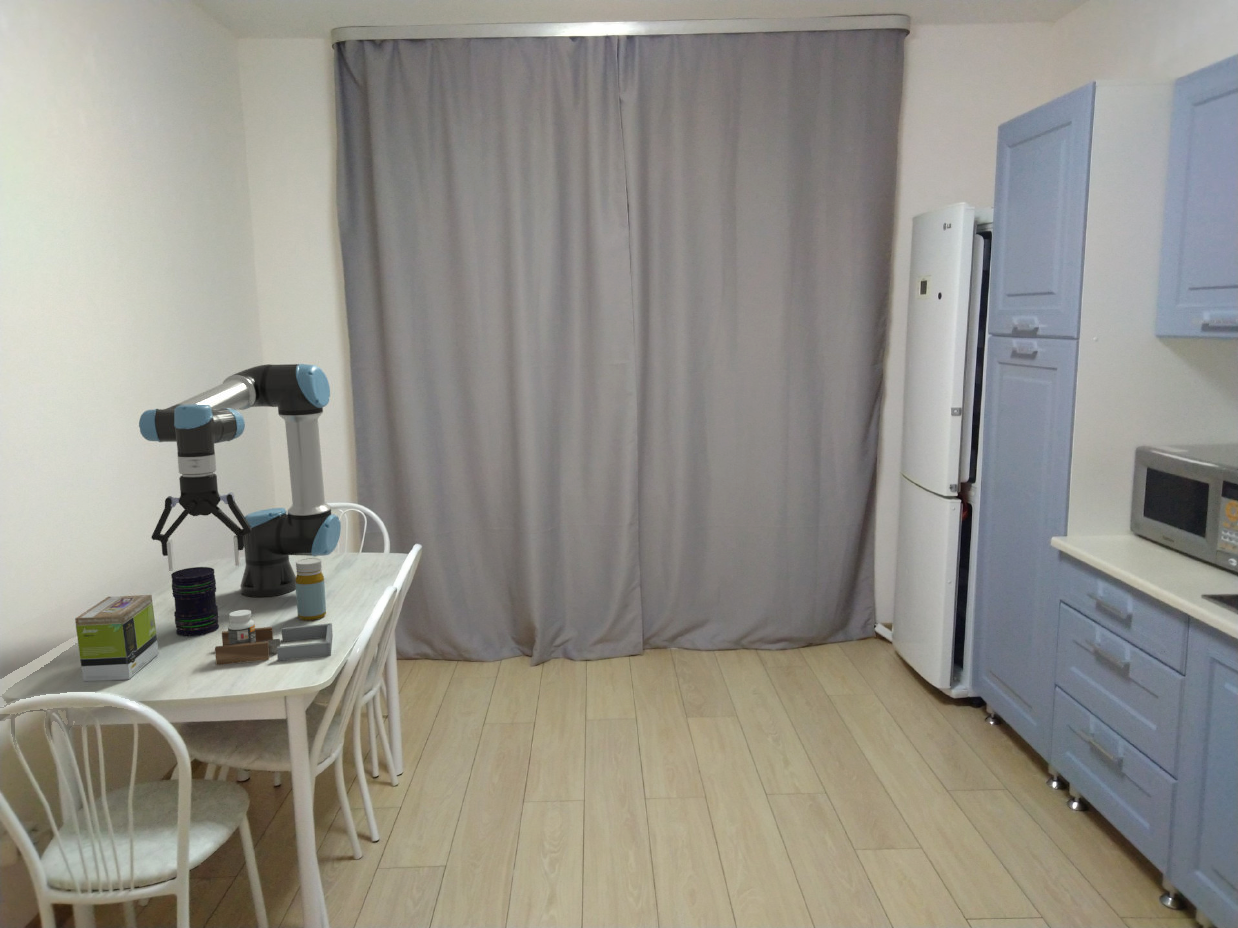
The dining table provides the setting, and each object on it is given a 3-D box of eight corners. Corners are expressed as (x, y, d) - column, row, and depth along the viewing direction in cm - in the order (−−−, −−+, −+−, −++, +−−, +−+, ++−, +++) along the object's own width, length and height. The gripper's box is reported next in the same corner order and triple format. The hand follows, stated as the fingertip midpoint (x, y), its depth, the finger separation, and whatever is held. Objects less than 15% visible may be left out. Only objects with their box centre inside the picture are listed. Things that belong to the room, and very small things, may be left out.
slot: (223, 647, 207) (222, 631, 206) (273, 642, 210) (272, 626, 209) (216, 665, 196) (214, 648, 196) (268, 659, 199) (267, 642, 199)
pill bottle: (259, 655, 202) (255, 613, 201) (232, 660, 199) (229, 618, 198) (254, 647, 207) (251, 607, 205) (228, 652, 204) (224, 611, 202)
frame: (282, 639, 212) (281, 627, 211) (332, 634, 215) (331, 623, 215) (277, 660, 199) (276, 648, 198) (330, 655, 202) (330, 642, 201)
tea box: (114, 656, 202) (108, 594, 200) (160, 654, 203) (154, 593, 201) (80, 682, 187) (73, 616, 185) (129, 680, 188) (123, 614, 186)
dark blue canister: (211, 620, 226) (206, 564, 224) (225, 629, 219) (221, 572, 217) (170, 630, 219) (164, 572, 217) (183, 639, 212) (178, 580, 210)
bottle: (317, 621, 225) (313, 565, 222) (292, 620, 226) (288, 563, 224) (331, 613, 231) (327, 558, 229) (307, 611, 233) (303, 556, 230)
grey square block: (262, 650, 206) (261, 640, 205) (280, 648, 207) (279, 638, 206) (260, 656, 202) (259, 646, 201) (278, 654, 203) (278, 644, 203)
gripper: (131, 479, 187) (140, 575, 191) (256, 473, 195) (263, 566, 198) (138, 474, 194) (147, 567, 198) (259, 468, 202) (265, 558, 205)
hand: (205, 566), depth 198 cm, fingers open, 13 cm apart
